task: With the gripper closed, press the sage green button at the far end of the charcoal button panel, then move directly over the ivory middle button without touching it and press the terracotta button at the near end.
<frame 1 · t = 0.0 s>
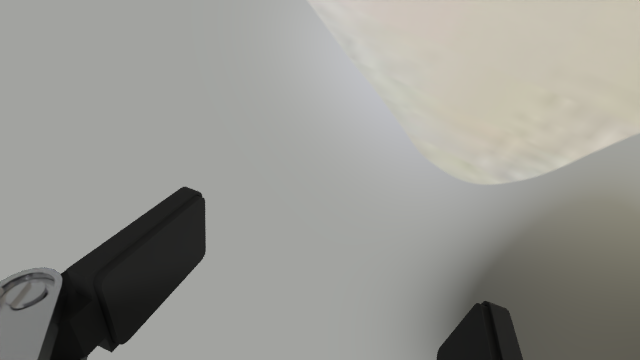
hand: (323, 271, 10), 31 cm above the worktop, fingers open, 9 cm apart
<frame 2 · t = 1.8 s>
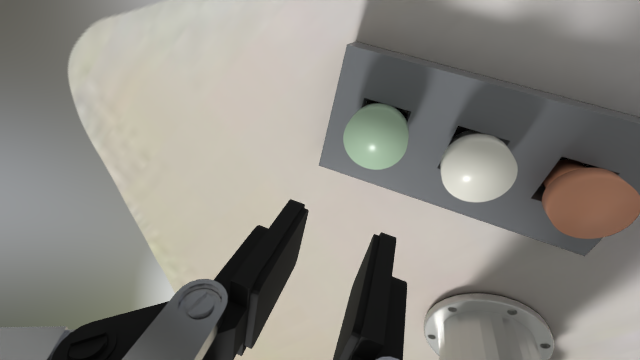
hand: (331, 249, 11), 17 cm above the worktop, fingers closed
ivory button: (473, 159, 21), point 4 cm above the worktop, slide at 0.0 cm
terracotta button: (577, 191, 20), point 4 cm above the worktop, slide at 0.0 cm
sage button: (378, 130, 22), point 4 cm above the worktop, slide at 0.0 cm
button panel: (466, 140, 24), on the worktop
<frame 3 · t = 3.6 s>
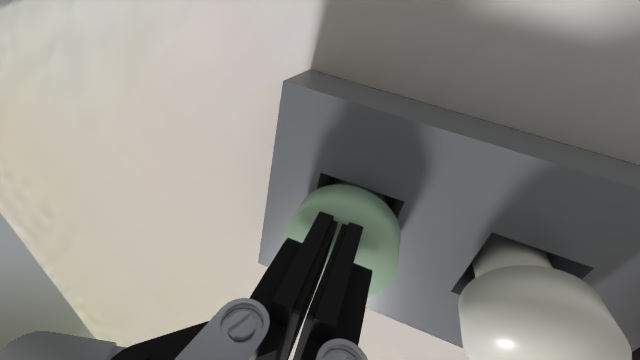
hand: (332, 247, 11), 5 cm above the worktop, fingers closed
ivory button: (519, 295, 11), point 4 cm above the worktop, slide at 0.0 cm
sage button: (350, 220, 13), point 3 cm above the worktop, slide at 0.7 cm, touching gripper
button panel: (499, 235, 14), on the worktop
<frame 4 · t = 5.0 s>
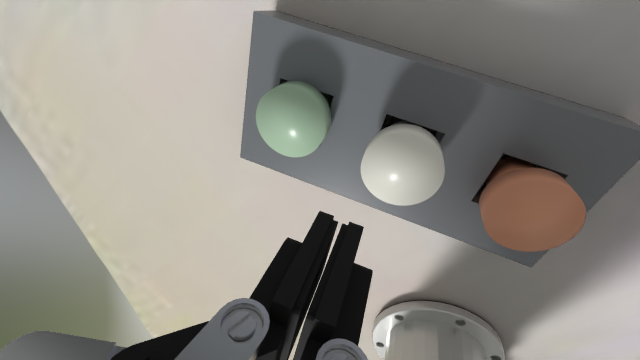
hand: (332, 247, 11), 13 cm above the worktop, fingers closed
ivory button: (403, 154, 18), point 4 cm above the worktop, slide at 0.0 cm
terracotta button: (519, 195, 17), point 4 cm above the worktop, slide at 0.0 cm
sage button: (302, 112, 19), point 3 cm above the worktop, slide at 1.0 cm
button panel: (405, 132, 21), on the worktop
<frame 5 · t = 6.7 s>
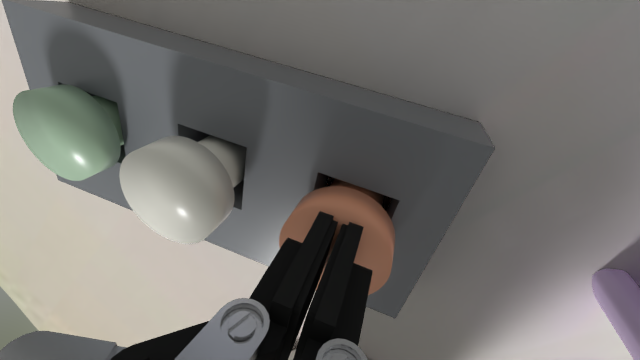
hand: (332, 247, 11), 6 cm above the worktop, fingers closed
ivory button: (201, 175, 14), point 4 cm above the worktop, slide at 0.0 cm
terracotta button: (345, 221, 13), point 3 cm above the worktop, slide at 0.5 cm, touching gripper
sage button: (98, 124, 15), point 3 cm above the worktop, slide at 1.0 cm
button panel: (242, 146, 17), on the worktop
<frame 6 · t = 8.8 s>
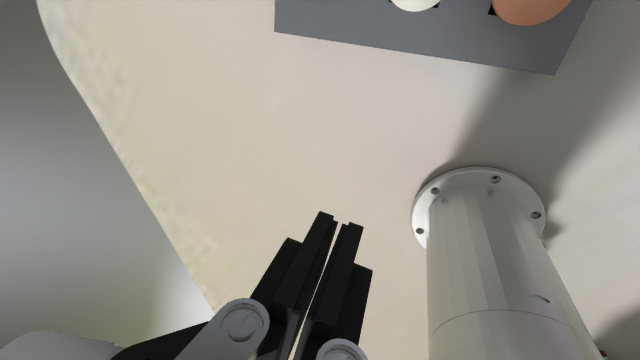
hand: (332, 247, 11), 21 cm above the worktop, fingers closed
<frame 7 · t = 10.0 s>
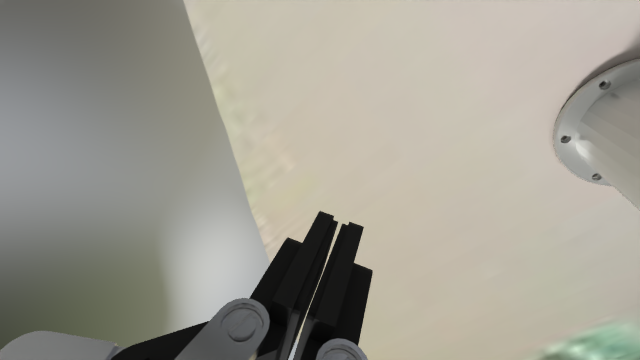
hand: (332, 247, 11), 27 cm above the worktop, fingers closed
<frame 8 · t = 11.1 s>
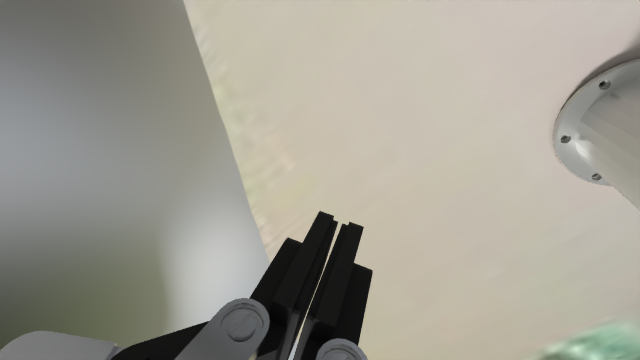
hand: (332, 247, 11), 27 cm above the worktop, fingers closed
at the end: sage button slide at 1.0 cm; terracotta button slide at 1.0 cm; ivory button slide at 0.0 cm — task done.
